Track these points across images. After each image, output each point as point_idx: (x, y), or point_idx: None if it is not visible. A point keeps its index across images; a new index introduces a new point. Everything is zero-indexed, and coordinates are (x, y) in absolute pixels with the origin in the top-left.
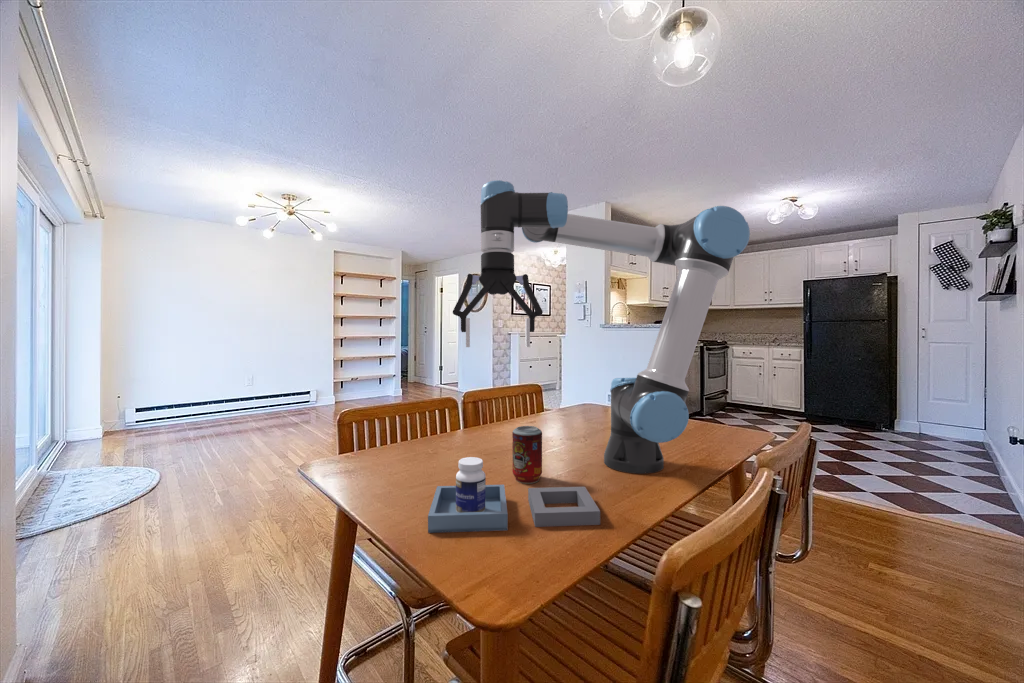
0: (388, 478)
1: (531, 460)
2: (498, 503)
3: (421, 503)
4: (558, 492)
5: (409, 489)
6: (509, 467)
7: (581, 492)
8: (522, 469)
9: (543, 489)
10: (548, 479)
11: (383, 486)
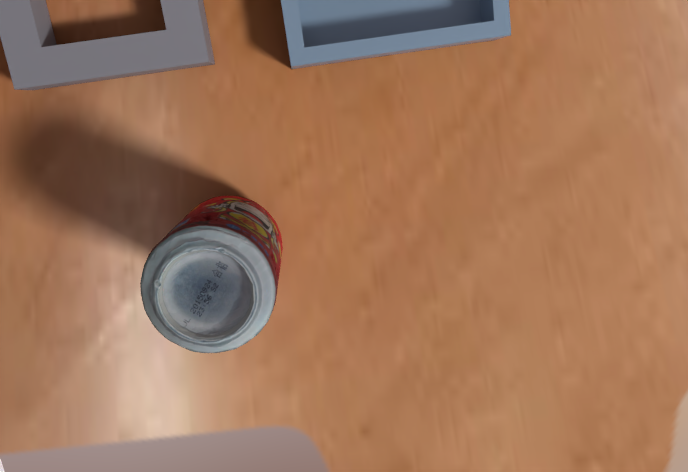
0: (682, 209)
1: (201, 208)
2: (302, 7)
3: (538, 14)
4: (105, 39)
5: (597, 122)
6: (305, 345)
7: (24, 32)
8: (240, 201)
9: (156, 52)
10: None
11: (681, 140)
